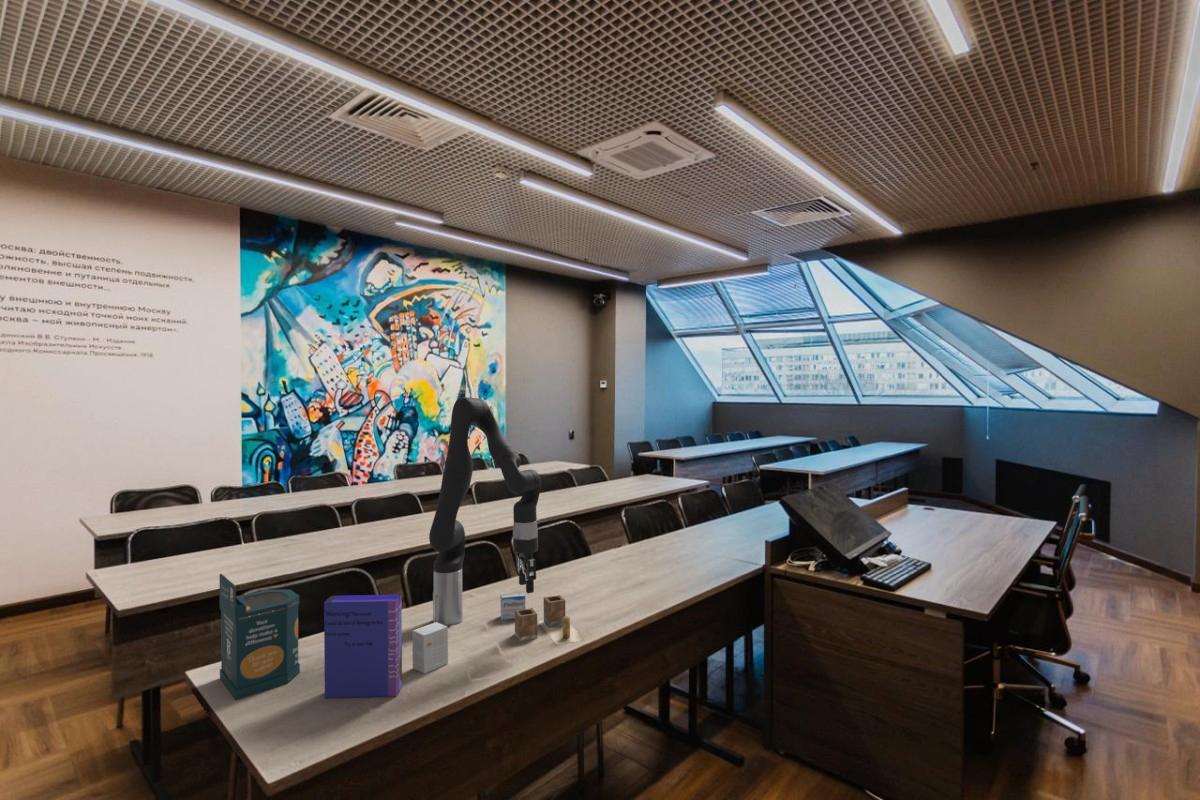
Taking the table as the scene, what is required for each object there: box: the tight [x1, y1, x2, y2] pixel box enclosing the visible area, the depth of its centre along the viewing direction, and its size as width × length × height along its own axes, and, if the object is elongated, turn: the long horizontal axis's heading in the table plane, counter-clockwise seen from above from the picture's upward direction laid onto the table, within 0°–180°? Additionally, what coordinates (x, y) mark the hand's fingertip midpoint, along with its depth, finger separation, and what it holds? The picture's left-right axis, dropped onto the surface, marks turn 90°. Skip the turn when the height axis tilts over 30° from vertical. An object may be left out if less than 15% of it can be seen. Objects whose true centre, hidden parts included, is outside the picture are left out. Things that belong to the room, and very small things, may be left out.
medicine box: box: [500, 591, 526, 621], centre depth 194 cm, size 8×4×9 cm, turn 105°
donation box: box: [219, 573, 301, 701], centre depth 155 cm, size 16×16×28 cm
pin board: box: [537, 615, 585, 646], centre depth 183 cm, size 9×20×7 cm, turn 22°
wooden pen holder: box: [543, 594, 566, 628], centre depth 188 cm, size 6×6×8 cm
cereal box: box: [323, 594, 403, 700], centre depth 147 cm, size 17×5×24 cm, turn 92°
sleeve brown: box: [514, 607, 538, 642], centre depth 179 cm, size 6×6×8 cm
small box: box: [411, 622, 449, 674], centre depth 161 cm, size 8×6×10 cm
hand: (526, 588), depth 179 cm, fingers open, 8 cm apart
